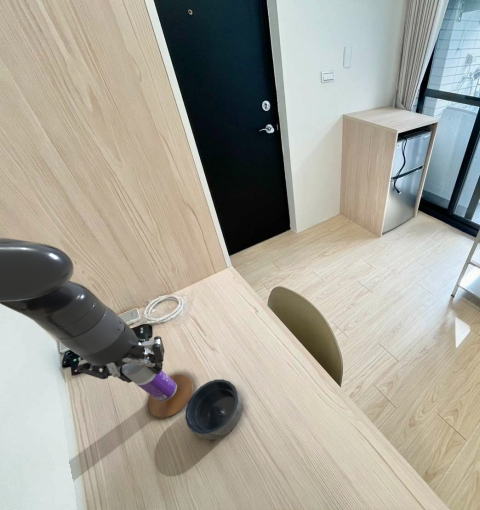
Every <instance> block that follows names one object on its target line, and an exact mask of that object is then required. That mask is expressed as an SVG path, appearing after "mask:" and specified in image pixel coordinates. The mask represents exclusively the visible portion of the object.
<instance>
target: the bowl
mask: <svg viewBox="0 0 480 510" xmlns="http://www.w3.org/2000/svg"><path fill="white" fill-rule="evenodd" d="M243 412H244V400H243V397H242V394H241V393H240V392H239V390H238V389H237V387H236V386H235V385H234V384H233V383H232V382H231V381H229V380H226V379H222V378H221V379H212V380H210V381H207V382H206V383H203V384H202V385H201V386H200V387H199V388H197V389H196V390H195V391H194V392H193V393H192V396H191V398H190V400H189V402H188V403H187V405H186V408H185V415H184V419H185V422H186V425H187V427H188V428H189V429H190V430H191V431H192V432H193V433H194V434H196V435H197V436H198V437H200V438H202V439H205V440H207V441H208V440H209V441H210V440H217V439H220V438H223V437H225V436H226V435H228V434H229V433H231V432H232V431H233V430H234V428H235V427H236V426H237V425H238V423H239V421H240V420H241V417H242V415H243Z"/></svg>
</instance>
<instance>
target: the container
mask: <svg viewBox="0 0 480 510" xmlns="http://www.w3.org/2000/svg"><path fill="white" fill-rule="evenodd" d="M148 360H149V357H148ZM122 373H123V374H124V375H126V376H127V377H128V378H129V379H130V380H132V381H133V382H132V383H134V384H135V385H136V386H138V387H139V388H140V389H142V390H143V391H145V392H146V393H147V394H149V395H150V396H153V397H154V398H155V399H157V400H158V401H166V400H168V399H170V398H171V397H172V396H173V395H174V394H175V392H176V389H177V385H176V383H175V382H174V381H173V380H172V379H171V378H170V376H169V375H168V374H167V373H166V372H165V371H163V370H162V371H161V373H159V374H155V373H154V372H153V371H152V370H151V369H149V367H148V366H145V365H141V366H138V365H136V364H133V363H128V364H125V365H123V366H122Z"/></svg>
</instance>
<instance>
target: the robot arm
mask: <svg viewBox="0 0 480 510" xmlns="http://www.w3.org/2000/svg"><path fill="white" fill-rule="evenodd" d="M74 270H75V267H74V263H73V261H72V258H71V257H70V256H69V255H68V254H67V253H66V252H65V251H63V250H61V249H60V248H59V247H56V246H53V245H50V244H47V243H41V242H36V241H28V240H21V239H16V238H9V237H0V305H2V306H3V307H6V308H8V309H10V310H13V311H14V312H17V313H18V314H20V315H22V316H25V317H27V318H28V319H30V320H32V321H33V322H35V323H36V324H37V325H38V326H39V327H40V328H42V329H43V330H45V331H46V332H48V333H49V334H51V335H52V336H53V337H55V338H56V339H57V340H58V341H59V342H60V343H61V344H62V345H63V346H64V347H65V348H67V349H69V350H70V351H71V352H73V353H74V354H75V355H77V356H79V357H80V358H79V362H78V365H77V368H76V371H77V372H78V373H81V374H85V375H88V376H91V377H94V378H97V379H100V380H107V379H109V377H113V378H118V379H119V380H121V381H122V382H126V383H127V384H129V383H134V382H133V381H132V380H130V379H129V378H128V377H127V376H126V375H124V374H123V373H122V366H123V365H125V364H128V363H133V364H136V365H138V366H141V365H145V366H148V367H149V369H151V370H152V371H153V372H154V373H155V374H159V373H161V371H163V367H164V366H163V365H164V363H163V362H164V360H165V358H164V356H165V347H164V343H163V338H162V337H161V336H160V335H157V336H154V337H153V339H152V340H146V341H145V340H144V339H142V338H139V337H138V336H137V335H136V333H135V331H134V330H133V328H131V327H130V326H129V325H128V324H127V323H126V322H125V321H124V319H122V317H120V316H119V315H118V314H117V312H115V311H114V310H113V309H112V308H110V307H109V306H107V305H106V304H105V303H104V302H102V300H101V299H100V298H99V297H98V296H97V295H96V294H94V292H92V291H91V290H90V289H89V288H88V287H87V286H84V285H82V284H81V283H79V282H75V281H72V280H71V279H72V277H73V275H74ZM148 358H149V360H148Z"/></svg>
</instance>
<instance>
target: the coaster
mask: <svg viewBox="0 0 480 510" xmlns="http://www.w3.org/2000/svg"><path fill="white" fill-rule="evenodd" d="M169 377H170V378H171V379H172V380H173V381H174V382H175V383H176V385H177V389H176V392H175V394H174V395H173V396H172V397H171V398H170V399H168V400H166V401H158V400H157V399H155V398H154V397H153V396H151V395H150V396H149V399H148V410H149V412H150V413H151V414H152V415H153V416H154V417H156V418H159V419H160V418H161V419H162V418H163V419H164V418H169V417H173V416H174V415H176V414H177V413H180V411H182V410H183V409H184V408H185V407H187V405H188V402H189V400H190V398H191V397H192V395H193V394H194V384H193V381H192V379H191V378H190V377H189V376H187V375H186V374H182V373H181V374H179V373H178V374H172V375H170V376H169Z"/></svg>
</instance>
